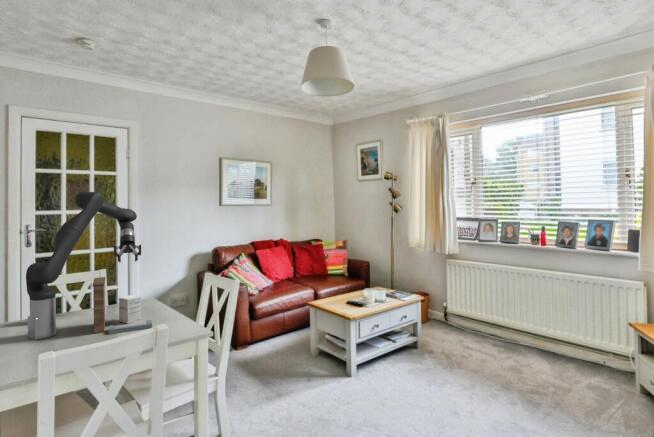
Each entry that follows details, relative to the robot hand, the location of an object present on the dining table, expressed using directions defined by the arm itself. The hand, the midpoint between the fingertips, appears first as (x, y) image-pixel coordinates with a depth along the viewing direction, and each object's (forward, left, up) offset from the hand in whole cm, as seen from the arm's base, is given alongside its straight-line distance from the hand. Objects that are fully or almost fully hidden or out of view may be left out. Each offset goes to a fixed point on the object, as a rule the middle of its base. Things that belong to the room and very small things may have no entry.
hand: (128, 261), depth 196 cm
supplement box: (-9, -14, -29) cm, 33 cm away
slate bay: (-17, -25, -29) cm, 41 cm away
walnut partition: (-23, -10, -29) cm, 38 cm away
